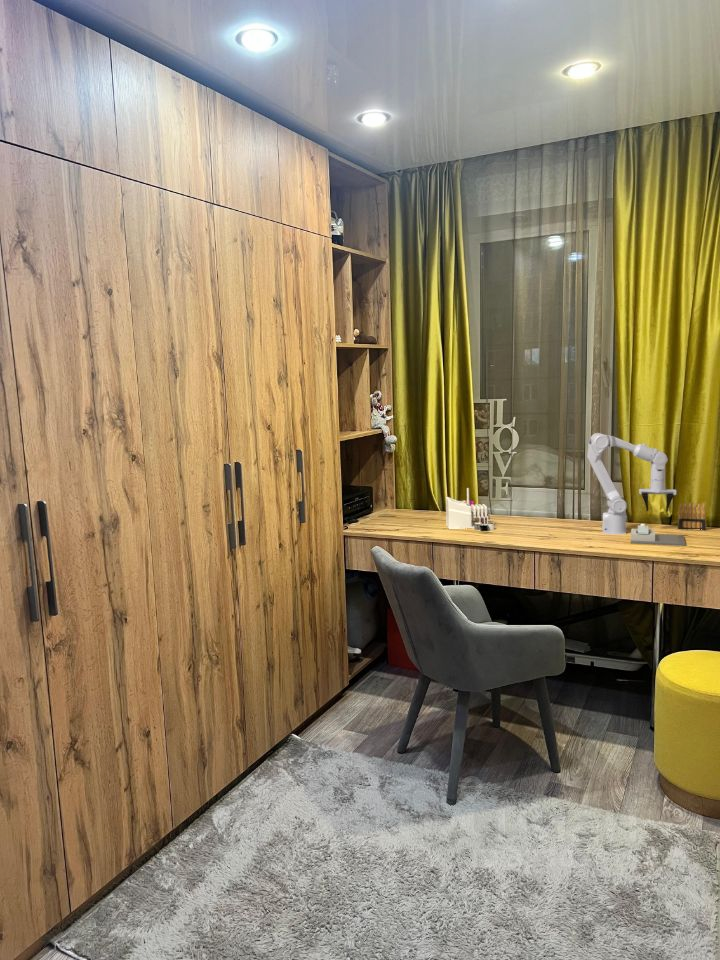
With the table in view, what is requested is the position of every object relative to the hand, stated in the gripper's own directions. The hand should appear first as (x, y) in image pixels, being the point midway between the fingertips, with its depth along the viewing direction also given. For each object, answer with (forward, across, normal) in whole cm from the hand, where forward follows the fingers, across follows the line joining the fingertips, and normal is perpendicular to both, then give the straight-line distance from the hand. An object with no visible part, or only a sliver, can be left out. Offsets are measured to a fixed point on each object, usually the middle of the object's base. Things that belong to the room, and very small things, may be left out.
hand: (657, 510), depth 294 cm
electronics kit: (+10, -84, +4) cm, 85 cm away
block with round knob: (+8, -6, -16) cm, 19 cm away
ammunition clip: (+10, +14, +8) cm, 19 cm away
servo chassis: (+9, 0, -16) cm, 19 cm away
